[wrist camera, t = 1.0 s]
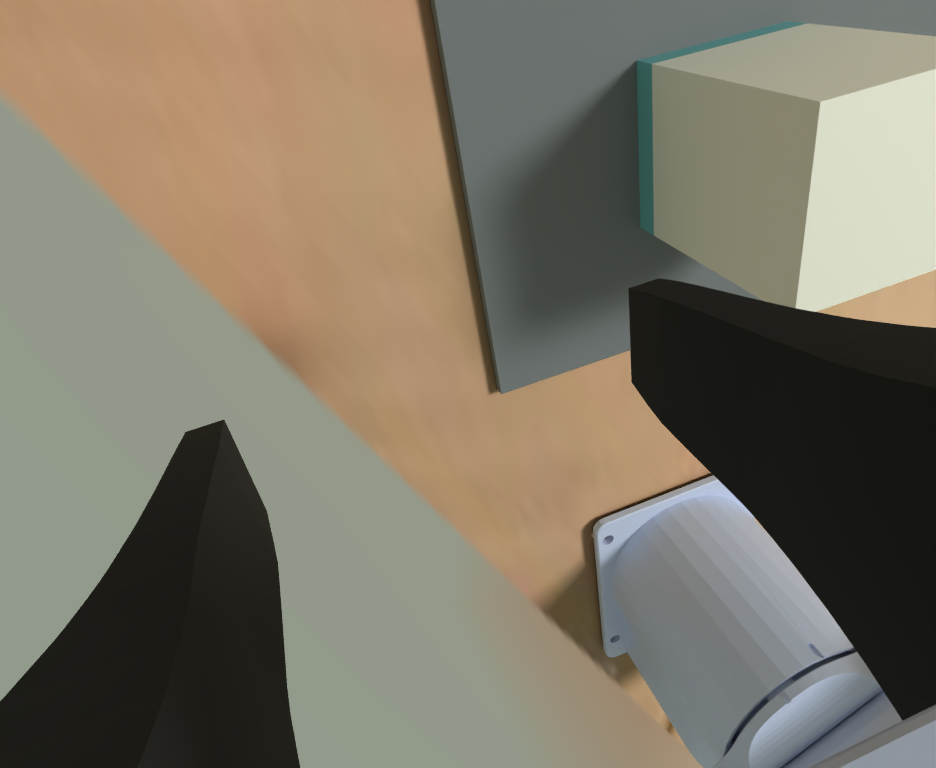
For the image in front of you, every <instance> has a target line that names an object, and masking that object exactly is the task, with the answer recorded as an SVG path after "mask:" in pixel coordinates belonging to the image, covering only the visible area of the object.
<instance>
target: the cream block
mask: <svg viewBox="0 0 936 768" xmlns="http://www.w3.org/2000/svg"><path fill="white" fill-rule="evenodd" d="M637 100H638V143H639V185H640V228H642V229H644V230H645V231H647V232H649V233H650V234H652V235H654V236H655V237H657V238H659V239H660V240H662V241H664V242H665V243H667V244H669V245H670V246H672V247H674V248H675V249H677V250H679V251H681V252H682V253H684V254H686V255H687V256H689V257H691V258H692V259H694V260H696V261H697V262H699V263H701V264H702V265H704V266H706V267H707V268H709V269H711V270H712V271H714V272H716V273H717V274H719V275H721V276H722V277H724V278H726V279H728V280H729V281H731V282H733V283H734V284H736V285H738V286H739V287H741V288H743V289H744V290H746V291H748V292H749V293H751V294H753V295H754V296H756V297H758V298H759V299H761V300H763V301H765V302H770V303H774V304H779V305H783V306H788V307H793V308H797V309H802V310H807V311H813V312H816V311H819V310H822V309H825V308H828V307H831V306H833V305H836V304H839V303H842V302H845V301H848V300H850V299H853V298H856V297H859V296H862V295H865V294H868V293H870V292H873V291H876V290H879V289H882V288H885V287H887V286H890V285H893V284H896V283H899V282H902V281H905V280H907V279H910V278H913V277H916V276H919V275H922V274H924V273H927V272H930V271H933V270H936V36H926V35H916V34H907V33H897V32H887V31H877V30H868V29H858V28H848V27H838V26H829V25H819V24H809V23H799V22H790V21H787V22H783V23H779V24H775V25H772V26H768V27H764V28H760V29H756V30H752V31H748V32H745V33H741V34H737V35H733V36H729V37H725V38H721V39H717V40H714V41H710V42H706V43H702V44H698V45H694V46H690V47H686V48H683V49H679V50H675V51H671V52H667V53H663V54H659V55H656V56H652V57H648V58H644V59H640V60H637Z"/></svg>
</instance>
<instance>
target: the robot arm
mask: <svg viewBox="0 0 936 768" xmlns="http://www.w3.org/2000/svg"><path fill="white" fill-rule="evenodd" d="M628 292H629V320H630V348H631V375H632V383H633V385H634V386H635V388H636V389H637V390H638V392H639V393H640V395H641V396H642V397H643V399H644V400H645V402H646V403H647V405H648V406H649V407H650V408H651V410H652V411H653V412H654V414H655V415H656V416H657V418H658V419H659V420H660V421H661V423H662V424H663V425H664V426H665V427H666V428H667V429H668V430H669V431H670V432H671V433H672V434H673V435H674V436H675V437H676V438H677V439H678V440H679V441H680V442H681V443H682V444H683V445H684V446H685V447H686V448H687V449H688V450H689V451H690V452H691V453H692V454H693V455H694V456H695V457H696V458H697V459H698V460H699V461H700V462H701V463H702V464H703V465H704V466H705V467H706V468H707V469H708V470H709V471H710V472H711V473H712V474H713V475H712V476H710V477H707V478H705V479H702V480H699V481H697V482H694V483H692V484H689V485H687V486H684V487H682V488H679V489H676V490H674V491H671V492H669V493H666V494H664V495H661V496H658V497H656V498H653V499H651V500H648V501H646V502H643V503H641V504H638V505H635V506H633V507H630V508H628V509H625V510H623V511H620V512H617V513H615V514H612V515H610V516H607V517H605V518H602V519H600V520H599V521H598V522H597V523H596V524H595V526H594V528H593V536H594V547H595V559H596V570H597V581H598V593H599V604H600V615H601V626H602V638H603V649H604V652H605V653H606V655H607V656H608V657H610V658H614V657H617V656H619V655H622V654H624V653H626V652H627V653H628V655H629V656H630V658H631V659H632V661H633V663H634V664H635V666H636V667H637V669H638V671H639V672H640V674H641V675H642V677H643V678H644V680H645V682H646V683H647V685H648V686H649V688H650V690H651V691H652V693H653V694H654V696H655V698H656V699H657V701H658V702H659V704H660V706H661V707H662V709H663V710H664V712H665V713H666V715H667V717H668V718H669V720H670V721H671V723H672V725H673V726H674V728H675V729H676V731H677V733H678V734H679V736H680V737H681V739H682V741H683V742H684V744H685V745H686V747H687V748H688V750H689V751H690V753H691V754H692V755H693V757H694V758H695V759H696V760H697V761H698V763H699V764H700V765H701V766H702V767H703V768H936V328H929V327H917V326H906V325H898V324H890V323H882V322H874V321H866V320H858V319H852V318H845V317H839V316H834V315H829V314H823V313H818V312H813V311H807V310H802V309H797V308H793V307H788V306H783V305H779V304H774V303H770V302H765V301H761V300H757V299H753V298H749V297H744V296H740V295H736V294H732V293H728V292H724V291H720V290H716V289H711V288H707V287H703V286H699V285H694V284H690V283H685V282H680V281H675V280H668V279H661V278H658V279H655V280H652V281H649V282H646V283H643V284H640V285H637V286H634V287H631V288H628ZM755 518H756V519H757V520H758V521H759V523H760V524H761V525H762V526H763V528H764V529H765V530H766V531H767V532H766V531H765V530H764V529H763V528H762V527H761V526H760V525H759V524H758V523H757V522H756V521H755V520H754V519H755ZM0 768H300V765H299V759H298V754H297V749H296V742H295V737H294V731H293V727H292V721H291V715H290V707H289V699H288V690H287V679H286V665H285V652H284V638H283V624H282V610H281V597H280V583H279V571H278V562H277V557H276V552H275V547H274V542H273V537H272V533H271V528H270V523H269V519H268V514H267V511H266V508H265V506H264V504H263V502H262V500H261V498H260V496H259V493H258V491H257V489H256V487H255V485H254V483H253V481H252V478H251V476H250V474H249V472H248V470H247V468H246V465H245V463H244V461H243V459H242V457H241V455H240V453H239V450H238V448H237V446H236V444H235V442H234V440H233V438H232V435H231V433H230V431H229V429H228V427H227V425H226V423H225V420H221V421H218V422H215V423H212V424H209V425H206V426H203V427H200V428H197V429H194V430H191V431H188V432H185V434H184V436H183V438H182V440H181V442H180V444H179V445H178V447H177V449H176V451H175V453H174V455H173V457H172V458H171V460H170V462H169V465H168V466H167V468H166V470H165V472H164V474H163V476H162V478H161V480H160V482H159V484H158V486H157V487H156V490H155V491H154V493H153V495H152V497H151V499H150V500H149V502H148V504H147V506H146V508H145V510H144V511H143V513H142V515H141V517H140V518H139V520H138V522H137V524H136V526H135V527H134V529H133V530H132V532H131V534H130V535H129V537H128V538H127V540H126V542H125V543H124V545H123V546H122V548H121V550H120V551H119V553H118V554H117V556H116V558H115V559H114V561H113V562H112V564H111V565H110V567H109V569H108V570H107V572H106V573H105V575H104V576H103V577H102V579H101V581H100V582H99V583H98V585H97V586H96V587H95V589H94V590H93V592H92V593H91V594H90V596H89V597H88V599H87V600H86V601H85V602H84V604H83V605H82V606H81V607H80V609H79V610H78V611H77V613H76V614H75V615H74V617H73V618H72V619H71V621H70V622H69V623H68V624H67V626H66V627H65V628H64V629H63V631H62V632H61V633H60V634H59V636H58V637H57V638H56V639H55V641H54V642H53V643H52V644H51V645H50V646H49V647H48V648H47V650H46V651H45V652H44V653H43V654H42V655H41V656H40V658H39V659H38V660H37V661H36V662H35V663H34V664H33V666H32V667H31V668H30V669H29V670H28V671H27V672H26V673H25V674H24V676H23V677H22V678H21V679H20V680H19V681H18V682H17V683H16V685H15V686H14V687H13V688H12V689H11V690H10V691H9V693H8V694H7V695H6V696H5V697H4V698H3V699H2V700H1V701H0Z"/></svg>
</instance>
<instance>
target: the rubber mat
mask: <svg viewBox="0 0 936 768" xmlns="http://www.w3.org/2000/svg"><path fill="white" fill-rule="evenodd" d="M430 2H431V8H432V14H433V19H434V25H435V31H436V37H437V42H438V48H439V54H440V60H441V66H442V71H443V77H444V83H445V89H446V94H447V100H448V106H449V112H450V118H451V123H452V129H453V135H454V141H455V146H456V152H457V158H458V164H459V170H460V175H461V181H462V187H463V193H464V198H465V204H466V210H467V216H468V222H469V227H470V233H471V239H472V245H473V250H474V256H475V262H476V268H477V273H478V279H479V285H480V291H481V297H482V302H483V308H484V314H485V320H486V325H487V331H488V337H489V343H490V349H491V354H492V360H493V366H494V372H495V377H496V383H497V388H498V390H499V391H500V393H501V394H503V393H506V392H509V391H512V390H515V389H518V388H521V387H524V386H527V385H529V384H532V383H535V382H538V381H541V380H544V379H547V378H550V377H553V376H556V375H559V374H561V373H564V372H567V371H570V370H573V369H576V368H579V367H582V366H585V365H588V364H591V363H593V362H596V361H599V360H602V359H605V358H608V357H611V356H614V355H617V354H620V353H623V352H626V351H628V350H631V348H630V320H629V292H628V288H631V287H634V286H637V285H640V284H643V283H646V282H649V281H652V280H655V279H658V278H661V279H668V280H675V281H680V282H685V283H690V284H694V285H699V286H703V287H707V288H711V289H716V290H720V291H724V292H728V293H732V294H736V295H740V296H744V297H749V298H753V299H757V300H761V299H759V298H758V297H756V296H754V295H753V294H751V293H749V292H748V291H746V290H744V289H743V288H741V287H739V286H738V285H736V284H734V283H733V282H731V281H729V280H728V279H726V278H724V277H722V276H721V275H719V274H717V273H716V272H714V271H712V270H711V269H709V268H707V267H706V266H704V265H702V264H701V263H699V262H697V261H696V260H694V259H692V258H691V257H689V256H687V255H686V254H684V253H682V252H681V251H679V250H677V249H675V248H674V247H672V246H670V245H669V244H667V243H665V242H664V241H662V240H660V239H659V238H657V237H655V236H654V235H652V234H650V233H649V232H647V231H645V230H644V229H642V228H640V185H639V143H638V100H637V60H640V59H644V58H648V57H652V56H656V55H659V54H663V53H667V52H671V51H675V50H679V49H683V48H686V47H690V46H694V45H698V44H702V43H706V42H710V41H714V40H717V39H721V38H725V37H729V36H733V35H737V34H741V33H745V32H748V31H752V30H756V29H760V28H764V27H768V26H772V25H775V24H779V23H783V22H787V21H790V22H799V23H809V24H819V25H829V26H838V27H848V28H858V29H868V30H877V31H887V32H897V33H907V34H916V35H926V36H936V0H430ZM761 301H763V300H761Z"/></svg>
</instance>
